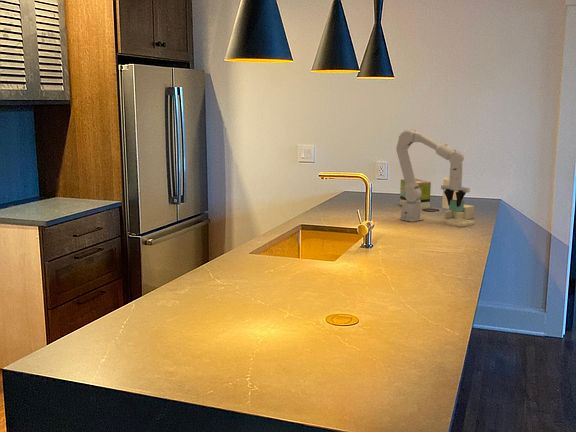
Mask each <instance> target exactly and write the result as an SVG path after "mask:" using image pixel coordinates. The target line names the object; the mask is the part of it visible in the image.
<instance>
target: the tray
mask: <svg viewBox="0 0 576 432" xmlns="http://www.w3.org/2000/svg"><path fill="white" fill-rule="evenodd" d="M445 224H446V225H448V226H454V227H458V228H464V227H468V226H473V225H475V220H470V219H466V220H465V219H456V218H454V219H451V220H450V219H449V220H446V221H445Z"/></svg>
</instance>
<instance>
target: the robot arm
mask: <svg viewBox="0 0 576 432" xmlns="http://www.w3.org/2000/svg"><path fill="white" fill-rule="evenodd" d="M414 143H421V144H423V145H425V146H427V147H429V148H431V149H433V150H434V151H435V154H437V155H438V156H439V157H441V158H443V159H445V160H446V161H449V163H450V167H449V177H448V178H449V185H440V190H443V189H445V191H444V193H445V195H446V197H447V201H448V205H449V206H450V200H453V194H454V191H458V192H456V198H457V204H456V205H457V207H459V206H460V205H461V202H462V201H463V199H464V197H465V196H466V194H467V193H470V190H471V189H470V188H469V187H465V186H462V183H463V161H464V159H465V156H464V154H463V153H462V152H461V151H459V150H458V151H457V149H456V148H452V147H450V146H448V143H442V142H441V143H438V142H437V141H435V140H433V139H431V138H430V137H428V136H427V135H425V134H423V133H422V132H420V131H416V129H413V128H412V129H406V130H403V131H402V132H401V133H400V135H399V136H398V141H397V144H396V148H395V149H396V155H397V157H398V160H399V164H400V168H401V173H402V176H403V177H402V178H403V179H404V180H405V191H406V193H405V198H406V203H404V204H403V205H401V208H400V209H401V210H400V217H399V220H400V221H406V222H410V223H411V222H418V221H423V220H424V218H422V217H421V209H420V208H421V201H420V198H421V196H422V191H421V189H420V188H419V186H418V184H417V182H416V180H415V179H416V177H415V174H414V173H415V172H414V170H413V167H412V162H411V158H410V154H409V151H408V150H409V149H410V148H411V146H412V144H414ZM454 189H458V190H454Z"/></svg>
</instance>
